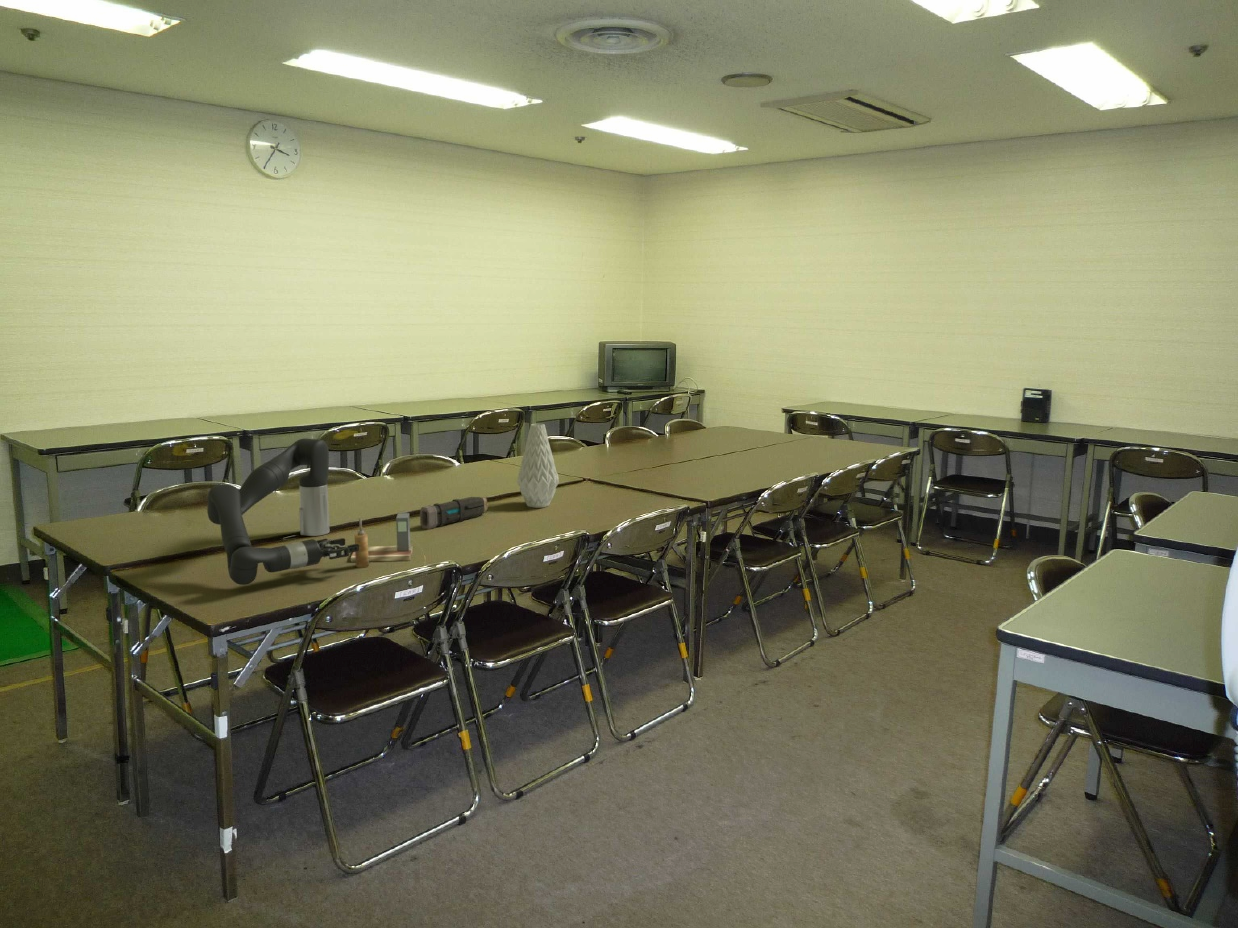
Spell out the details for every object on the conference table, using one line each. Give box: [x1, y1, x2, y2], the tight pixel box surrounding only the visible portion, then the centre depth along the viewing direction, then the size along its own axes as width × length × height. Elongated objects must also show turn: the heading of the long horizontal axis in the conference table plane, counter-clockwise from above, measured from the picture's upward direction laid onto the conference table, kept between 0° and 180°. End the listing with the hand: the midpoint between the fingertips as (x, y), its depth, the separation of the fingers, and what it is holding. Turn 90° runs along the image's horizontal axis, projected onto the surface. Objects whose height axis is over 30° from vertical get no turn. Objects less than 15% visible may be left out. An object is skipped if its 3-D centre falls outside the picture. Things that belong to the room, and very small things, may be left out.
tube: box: [419, 496, 488, 530], centre depth 330 cm, size 11×7×30 cm
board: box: [350, 544, 414, 563], centre depth 286 cm, size 18×12×2 cm, turn 99°
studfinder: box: [395, 512, 411, 551], centre depth 288 cm, size 4×6×11 cm, turn 9°
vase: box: [516, 423, 560, 509], centre depth 355 cm, size 17×17×33 cm
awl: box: [354, 517, 369, 569], centre depth 274 cm, size 4×4×15 cm
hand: (351, 544), depth 271 cm, fingers open, 8 cm apart
